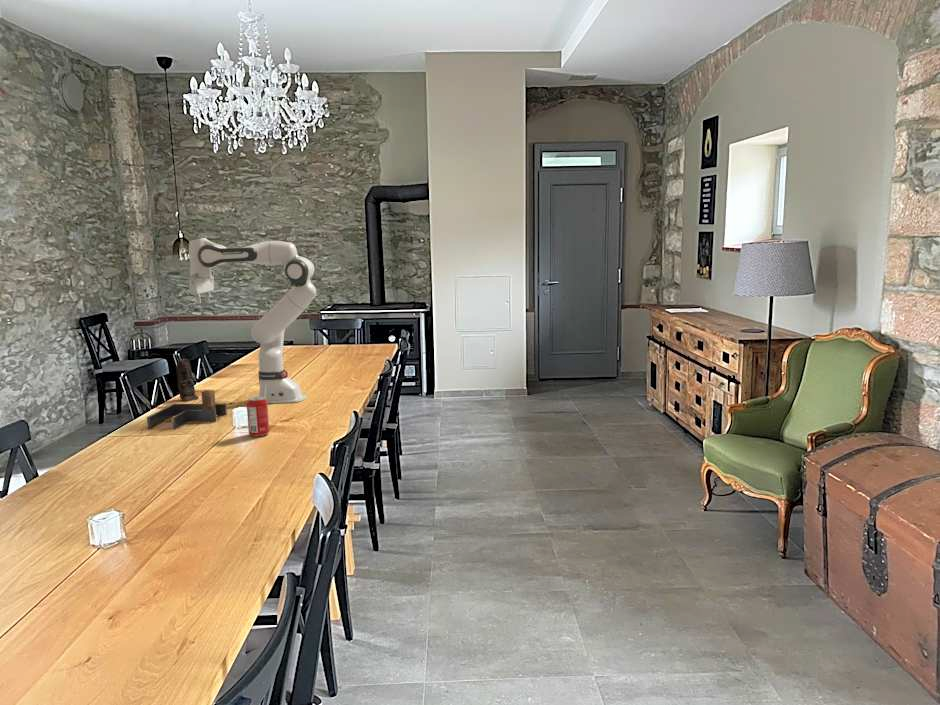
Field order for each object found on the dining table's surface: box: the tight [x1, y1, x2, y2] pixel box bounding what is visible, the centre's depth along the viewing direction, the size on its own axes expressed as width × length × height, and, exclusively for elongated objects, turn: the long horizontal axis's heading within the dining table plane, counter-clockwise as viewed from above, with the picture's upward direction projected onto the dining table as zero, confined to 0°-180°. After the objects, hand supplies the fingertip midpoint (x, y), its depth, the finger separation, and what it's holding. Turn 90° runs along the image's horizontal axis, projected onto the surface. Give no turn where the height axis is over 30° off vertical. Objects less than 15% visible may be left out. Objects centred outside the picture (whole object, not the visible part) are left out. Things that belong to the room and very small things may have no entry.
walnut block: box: [201, 389, 216, 410], centre depth 314 cm, size 4×4×12 cm
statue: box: [175, 358, 199, 402], centre depth 350 cm, size 7×7×20 cm
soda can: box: [246, 395, 270, 438], centre depth 287 cm, size 8×8×15 cm
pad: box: [153, 422, 174, 429], centre depth 304 cm, size 8×8×1 cm
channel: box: [146, 403, 228, 430], centre depth 310 cm, size 24×23×5 cm
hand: (203, 302), depth 342 cm, fingers open, 8 cm apart
